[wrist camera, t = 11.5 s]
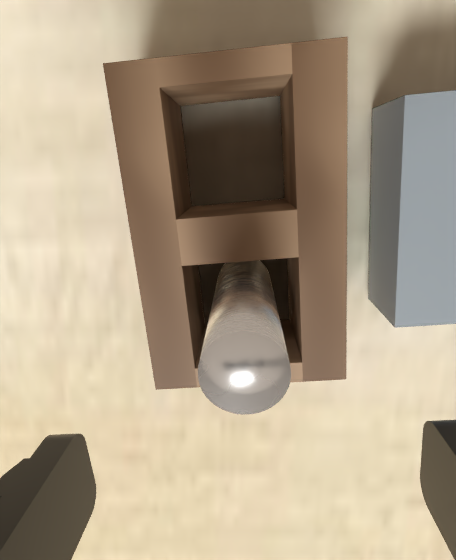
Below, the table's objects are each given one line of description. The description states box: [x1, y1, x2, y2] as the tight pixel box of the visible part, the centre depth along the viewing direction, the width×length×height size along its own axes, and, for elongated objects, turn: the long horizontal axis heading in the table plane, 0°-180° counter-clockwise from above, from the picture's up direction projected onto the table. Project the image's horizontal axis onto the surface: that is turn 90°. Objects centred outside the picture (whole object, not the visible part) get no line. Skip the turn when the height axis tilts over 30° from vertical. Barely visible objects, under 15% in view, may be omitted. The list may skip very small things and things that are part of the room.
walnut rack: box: [103, 37, 347, 389], centre depth 18 cm, size 9×14×5 cm, turn 5°
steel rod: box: [198, 260, 291, 414], centre depth 17 cm, size 3×3×10 cm
